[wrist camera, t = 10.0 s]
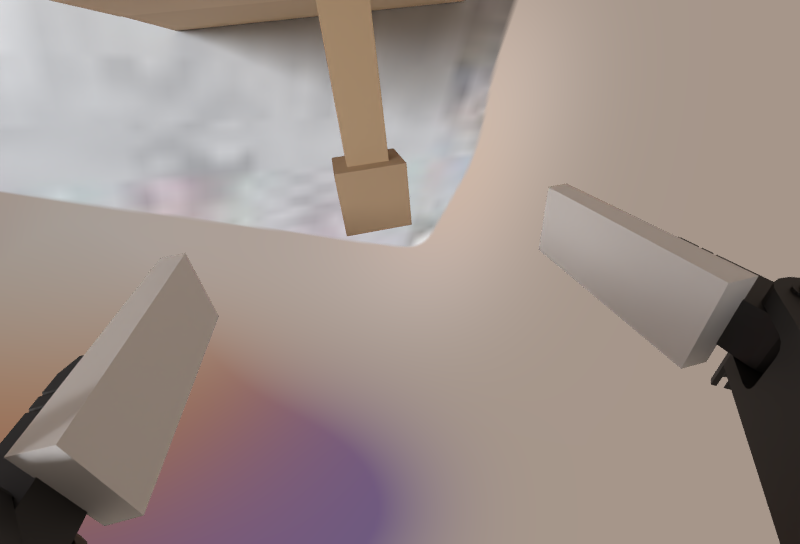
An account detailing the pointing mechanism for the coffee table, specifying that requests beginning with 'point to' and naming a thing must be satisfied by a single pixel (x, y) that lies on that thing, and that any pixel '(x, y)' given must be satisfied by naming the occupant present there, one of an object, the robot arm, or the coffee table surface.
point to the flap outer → (354, 100)
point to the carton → (256, 13)
